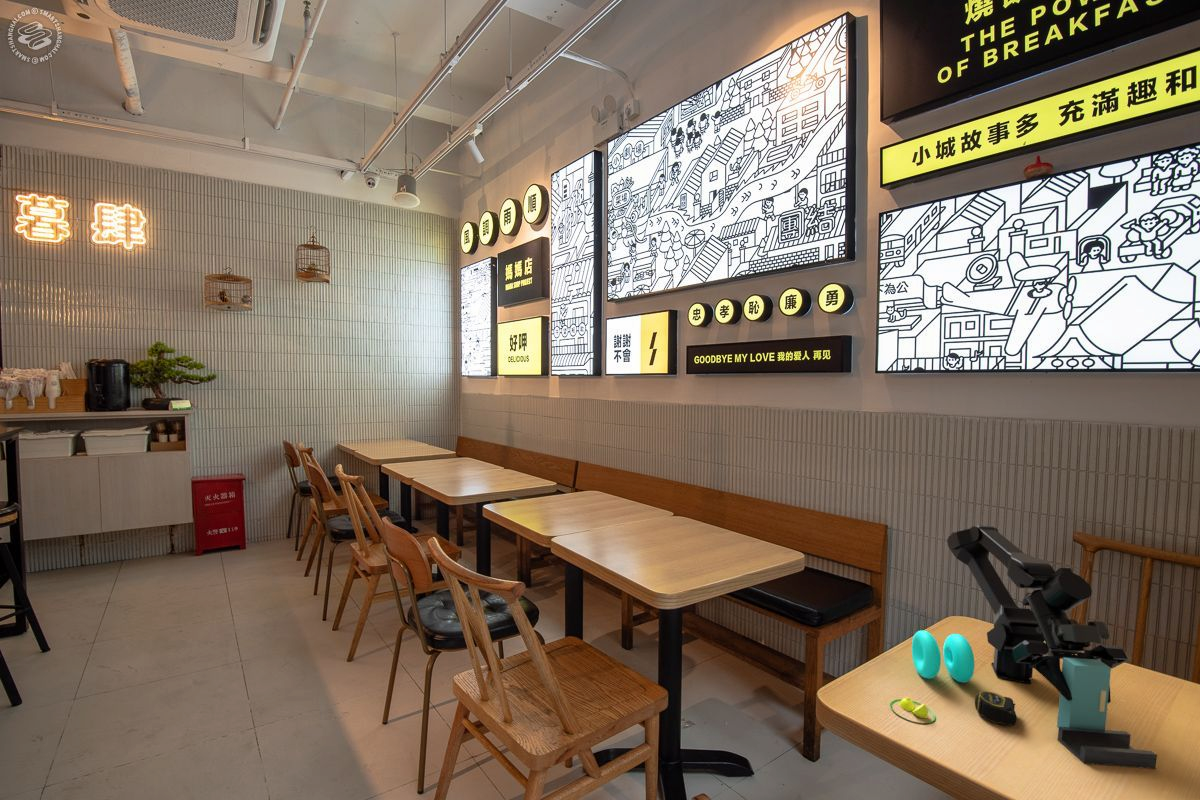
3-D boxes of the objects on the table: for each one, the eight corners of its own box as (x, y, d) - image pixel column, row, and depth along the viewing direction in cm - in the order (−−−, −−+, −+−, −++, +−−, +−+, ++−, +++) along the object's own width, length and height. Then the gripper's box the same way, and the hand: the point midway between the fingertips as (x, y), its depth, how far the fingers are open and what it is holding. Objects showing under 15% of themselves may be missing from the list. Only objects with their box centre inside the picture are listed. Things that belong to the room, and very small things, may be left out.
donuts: (975, 692, 124) (978, 647, 124) (925, 686, 126) (928, 642, 125) (954, 668, 134) (957, 626, 134) (908, 663, 136) (911, 622, 135)
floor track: (1057, 739, 109) (1058, 726, 109) (1124, 744, 108) (1126, 731, 108) (1083, 763, 103) (1085, 749, 102) (1155, 768, 102) (1157, 754, 102)
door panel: (1057, 726, 113) (1063, 657, 112) (1092, 729, 113) (1098, 659, 112) (1069, 737, 110) (1075, 666, 109) (1105, 740, 109) (1112, 668, 108)
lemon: (940, 714, 116) (941, 701, 116) (927, 731, 111) (928, 717, 111) (898, 697, 122) (899, 684, 122) (884, 712, 117) (884, 699, 116)
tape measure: (1016, 732, 111) (1017, 714, 111) (973, 719, 115) (975, 701, 115) (1014, 715, 117) (1016, 697, 117) (974, 703, 121) (975, 685, 120)
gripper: (1026, 600, 114) (1061, 685, 104) (1125, 606, 113) (1172, 693, 103) (998, 621, 123) (1029, 702, 112) (1090, 627, 121) (1130, 709, 111)
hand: (1089, 701), depth 109 cm, fingers closed on door panel, 6 cm apart
